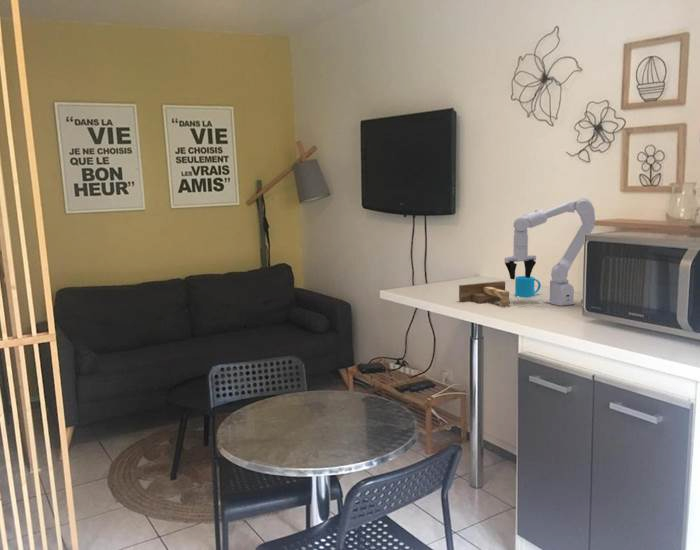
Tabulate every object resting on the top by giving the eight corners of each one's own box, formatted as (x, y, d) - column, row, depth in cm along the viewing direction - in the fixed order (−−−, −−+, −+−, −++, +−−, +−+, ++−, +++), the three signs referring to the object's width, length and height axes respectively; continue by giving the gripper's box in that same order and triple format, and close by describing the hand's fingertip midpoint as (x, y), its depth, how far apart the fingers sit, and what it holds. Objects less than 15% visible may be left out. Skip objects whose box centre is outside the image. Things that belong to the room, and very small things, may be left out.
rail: (509, 306, 258) (509, 291, 258) (502, 306, 257) (503, 292, 256) (489, 300, 271) (489, 286, 270) (483, 300, 270) (483, 287, 269)
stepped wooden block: (513, 299, 271) (513, 283, 270) (469, 304, 263) (469, 288, 262) (502, 296, 279) (502, 281, 278) (459, 301, 271) (459, 285, 270)
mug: (521, 297, 275) (521, 279, 274) (511, 294, 283) (511, 276, 282) (545, 295, 278) (545, 277, 277) (535, 292, 286) (535, 274, 285)
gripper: (529, 244, 270) (528, 275, 272) (500, 246, 265) (499, 278, 267) (539, 245, 263) (538, 278, 265) (510, 248, 258) (509, 280, 260)
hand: (520, 278), depth 266 cm, fingers open, 7 cm apart
